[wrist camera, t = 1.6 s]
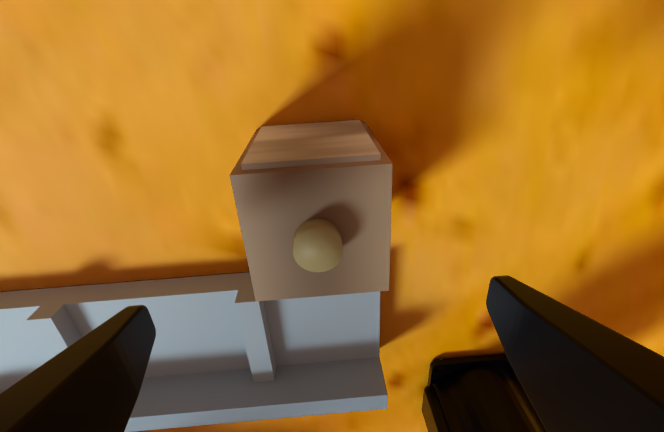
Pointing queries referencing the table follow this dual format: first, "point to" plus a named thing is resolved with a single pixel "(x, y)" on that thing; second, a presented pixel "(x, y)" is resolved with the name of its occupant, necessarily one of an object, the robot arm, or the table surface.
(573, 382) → the robot arm
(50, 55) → the table surface
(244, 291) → the grey slotted rack
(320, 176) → the cabinet block
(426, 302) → the table surface
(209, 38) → the table surface
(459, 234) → the table surface
